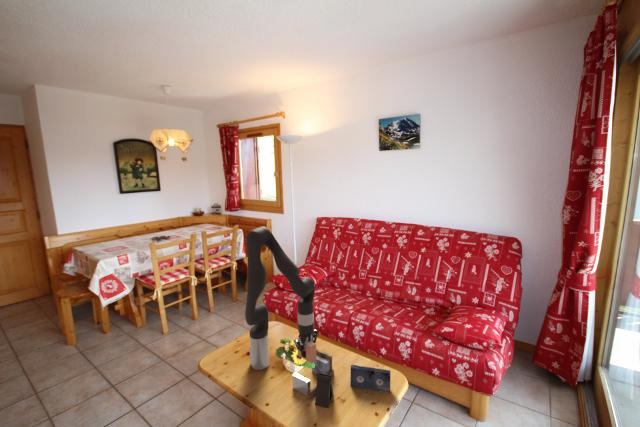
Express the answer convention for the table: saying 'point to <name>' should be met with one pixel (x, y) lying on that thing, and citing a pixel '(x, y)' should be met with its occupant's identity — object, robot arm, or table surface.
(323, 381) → the door stopper
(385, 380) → the vhs cassette tape
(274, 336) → the table surface
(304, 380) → the grey flat box
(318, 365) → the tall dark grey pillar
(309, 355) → the book
